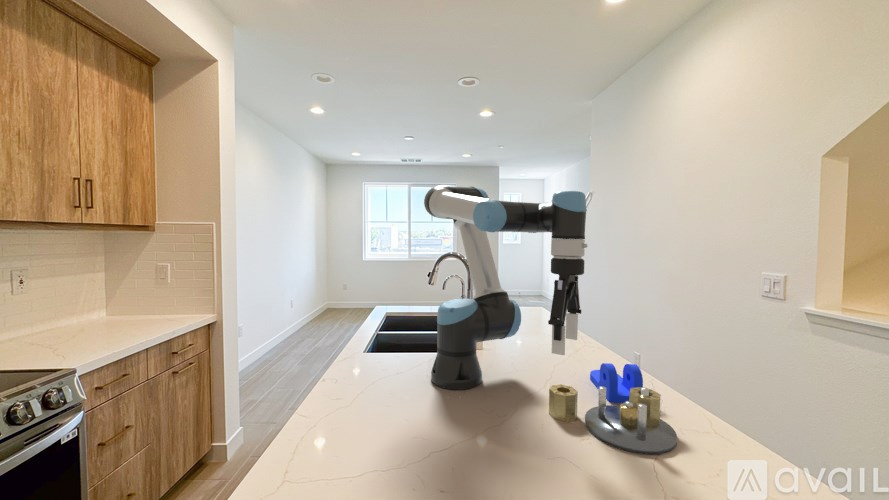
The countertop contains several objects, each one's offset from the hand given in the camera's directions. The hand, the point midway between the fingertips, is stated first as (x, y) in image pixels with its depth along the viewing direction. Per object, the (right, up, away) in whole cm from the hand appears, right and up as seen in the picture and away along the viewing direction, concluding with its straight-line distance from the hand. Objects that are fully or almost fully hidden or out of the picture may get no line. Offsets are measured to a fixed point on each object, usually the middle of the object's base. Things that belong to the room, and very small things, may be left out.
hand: (565, 346), depth 85 cm
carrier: (+12, -17, -6) cm, 22 cm away
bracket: (+18, -17, +16) cm, 29 cm away
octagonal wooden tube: (0, -17, 0) cm, 17 cm away
